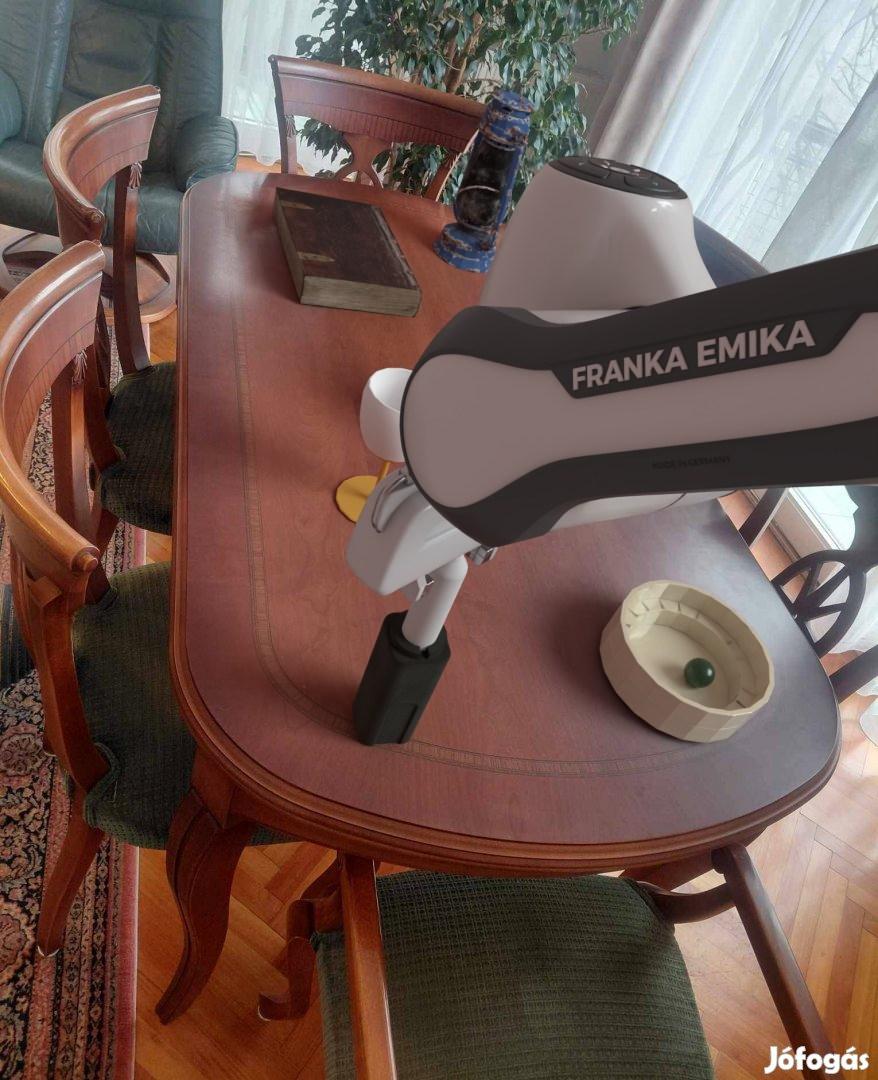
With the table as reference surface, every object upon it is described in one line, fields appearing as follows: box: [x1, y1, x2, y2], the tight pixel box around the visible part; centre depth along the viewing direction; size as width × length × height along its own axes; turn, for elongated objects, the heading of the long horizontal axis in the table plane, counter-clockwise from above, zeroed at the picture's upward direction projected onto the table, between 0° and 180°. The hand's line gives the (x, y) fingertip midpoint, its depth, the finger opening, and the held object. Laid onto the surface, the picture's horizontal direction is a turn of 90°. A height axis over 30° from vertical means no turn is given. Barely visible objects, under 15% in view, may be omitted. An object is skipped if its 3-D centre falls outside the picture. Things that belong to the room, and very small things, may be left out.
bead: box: [684, 658, 715, 688], centre depth 84 cm, size 3×3×3 cm
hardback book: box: [272, 186, 423, 318], centre depth 129 cm, size 29×19×5 cm, turn 17°
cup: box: [335, 367, 413, 524], centre depth 86 cm, size 9×9×16 cm
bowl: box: [599, 579, 775, 744], centre depth 83 cm, size 17×17×6 cm
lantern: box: [432, 80, 537, 274], centre depth 136 cm, size 15×12×30 cm
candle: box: [351, 554, 469, 747], centre depth 63 cm, size 5×5×25 cm
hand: (446, 574), depth 58 cm, fingers open, 6 cm apart
